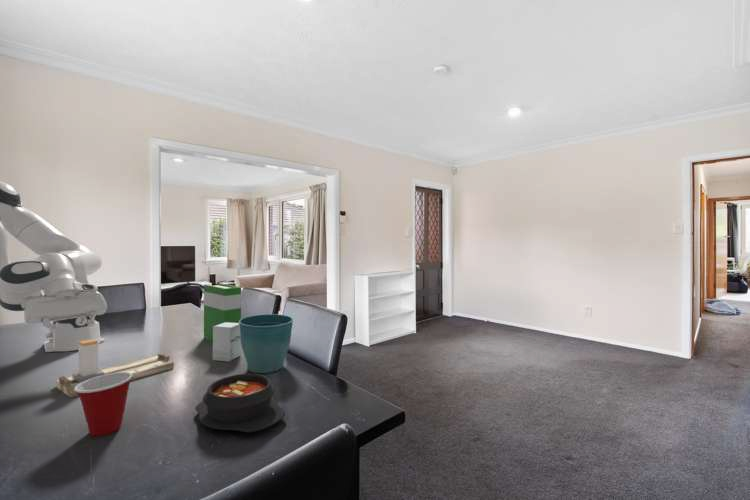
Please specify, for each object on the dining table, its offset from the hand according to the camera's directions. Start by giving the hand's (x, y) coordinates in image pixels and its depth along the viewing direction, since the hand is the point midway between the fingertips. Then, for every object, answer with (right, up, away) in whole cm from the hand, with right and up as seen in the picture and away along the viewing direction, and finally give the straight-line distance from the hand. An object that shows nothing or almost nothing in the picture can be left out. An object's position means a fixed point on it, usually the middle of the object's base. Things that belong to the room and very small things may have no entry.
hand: (73, 327), depth 111 cm
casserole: (+61, -18, -22) cm, 67 cm away
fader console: (+13, -16, +2) cm, 21 cm away
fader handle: (+9, -14, -5) cm, 17 cm away
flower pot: (+57, -17, +12) cm, 61 cm away
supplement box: (+40, -16, +21) cm, 48 cm away
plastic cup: (+32, -18, -29) cm, 47 cm away
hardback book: (+28, -15, +44) cm, 54 cm away
